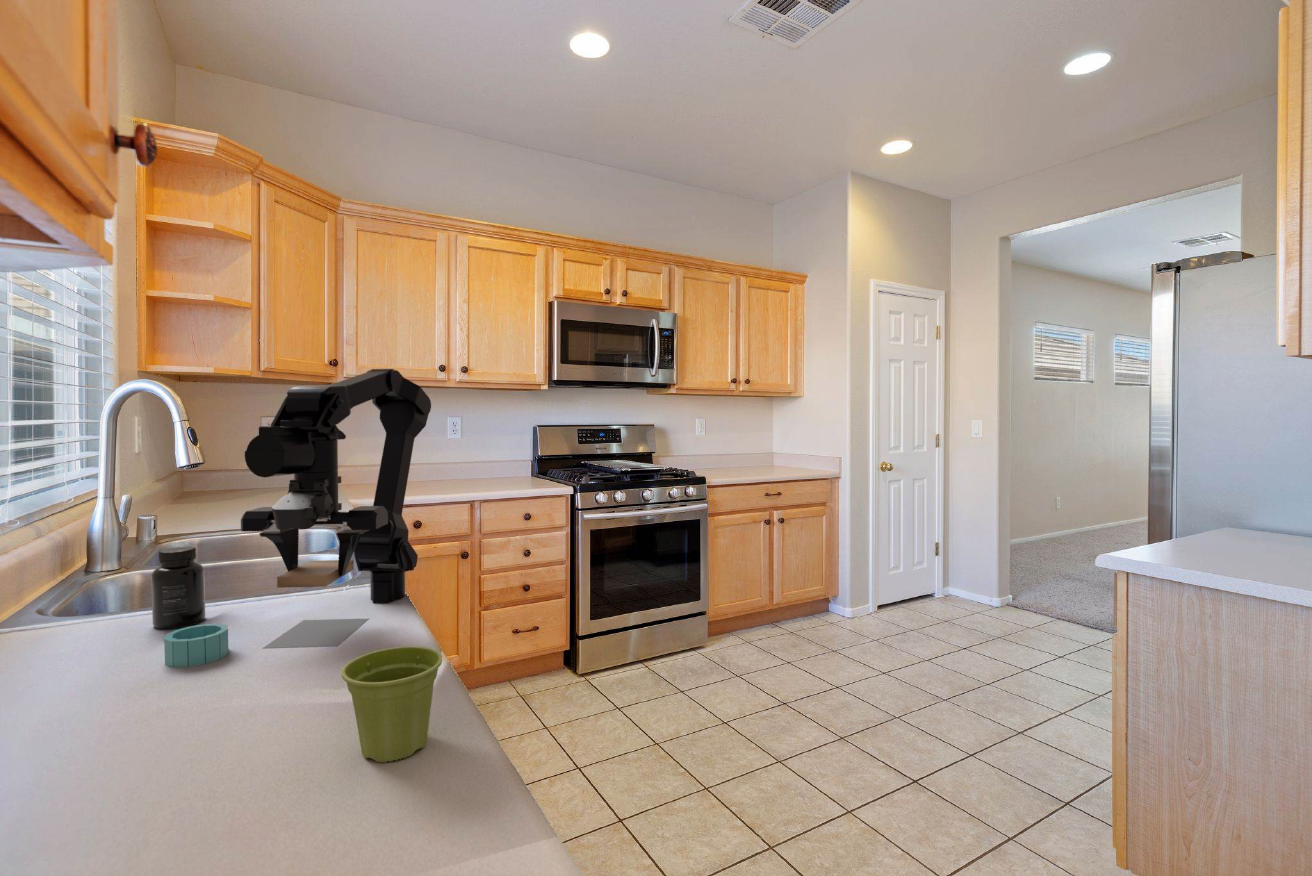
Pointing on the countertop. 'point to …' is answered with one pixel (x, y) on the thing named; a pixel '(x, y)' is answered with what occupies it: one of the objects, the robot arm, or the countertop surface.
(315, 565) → the walnut board
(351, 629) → the trivet
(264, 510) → the robot arm
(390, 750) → the plant pot
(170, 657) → the ramekin
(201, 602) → the supplement bottle
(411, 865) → the countertop surface
